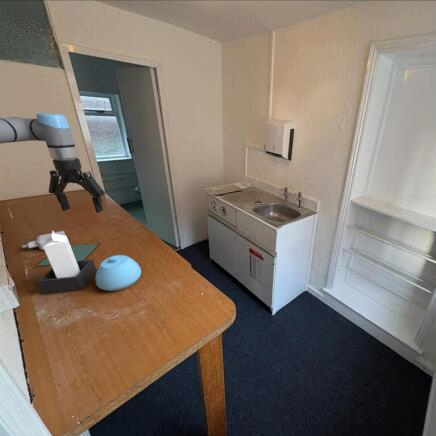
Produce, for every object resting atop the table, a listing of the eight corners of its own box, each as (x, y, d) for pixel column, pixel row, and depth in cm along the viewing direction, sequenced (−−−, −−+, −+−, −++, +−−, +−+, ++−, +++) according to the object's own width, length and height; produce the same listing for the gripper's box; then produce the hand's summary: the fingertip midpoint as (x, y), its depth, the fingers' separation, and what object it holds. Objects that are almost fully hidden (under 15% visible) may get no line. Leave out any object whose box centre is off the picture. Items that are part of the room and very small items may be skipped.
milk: (61, 288, 89) (38, 239, 80) (62, 280, 93) (41, 232, 84) (82, 282, 93) (62, 234, 84) (82, 274, 97) (63, 228, 88)
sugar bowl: (110, 299, 86) (101, 273, 81) (90, 284, 92) (81, 260, 88) (149, 277, 98) (144, 254, 93) (129, 265, 104) (123, 243, 100)
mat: (37, 266, 100) (36, 265, 100) (59, 247, 114) (59, 246, 114) (81, 262, 104) (81, 261, 104) (97, 244, 118) (97, 243, 118)
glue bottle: (25, 247, 113) (66, 237, 122) (24, 255, 107) (67, 244, 116) (20, 238, 111) (63, 229, 120) (19, 246, 105) (64, 236, 114)
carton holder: (43, 294, 86) (37, 281, 84) (62, 274, 97) (57, 262, 94) (82, 289, 89) (77, 277, 87) (96, 270, 100) (92, 259, 97)
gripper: (106, 158, 90) (119, 208, 99) (42, 154, 90) (61, 205, 99) (91, 162, 83) (106, 216, 92) (21, 158, 83) (43, 212, 92)
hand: (83, 210), depth 96 cm, fingers open, 13 cm apart
